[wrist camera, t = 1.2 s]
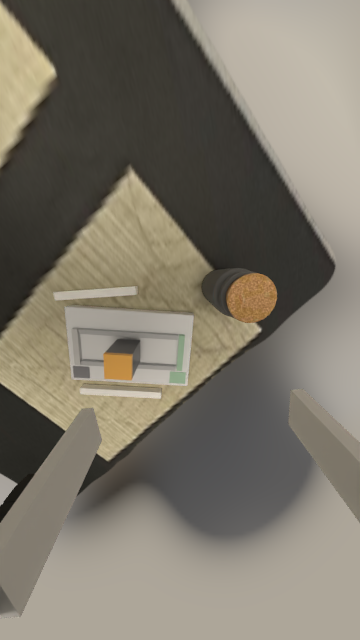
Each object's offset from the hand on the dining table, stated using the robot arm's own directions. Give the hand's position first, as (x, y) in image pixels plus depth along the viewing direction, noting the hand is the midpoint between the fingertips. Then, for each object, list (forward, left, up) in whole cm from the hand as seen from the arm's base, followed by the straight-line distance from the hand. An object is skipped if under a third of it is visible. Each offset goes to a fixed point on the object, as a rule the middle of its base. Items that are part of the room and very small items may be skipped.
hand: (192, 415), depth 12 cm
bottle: (+5, +7, -22) cm, 24 cm away
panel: (-10, -5, -22) cm, 24 cm away
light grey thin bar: (-16, +5, -22) cm, 27 cm away
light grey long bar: (-12, -15, -22) cm, 29 cm away
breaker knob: (-9, -5, -19) cm, 22 cm away
